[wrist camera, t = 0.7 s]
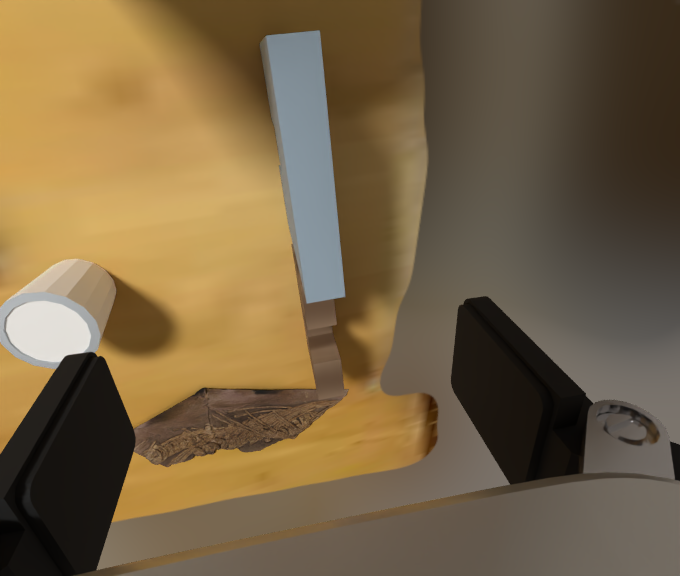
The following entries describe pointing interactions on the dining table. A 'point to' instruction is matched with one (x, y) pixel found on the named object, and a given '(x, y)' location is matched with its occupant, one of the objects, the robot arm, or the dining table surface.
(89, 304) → the white topped beige cylinder
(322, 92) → the blue-grey notched panel
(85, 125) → the dining table surface
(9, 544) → the robot arm
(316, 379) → the wood grain block
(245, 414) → the wooden fragment
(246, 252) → the dining table surface
